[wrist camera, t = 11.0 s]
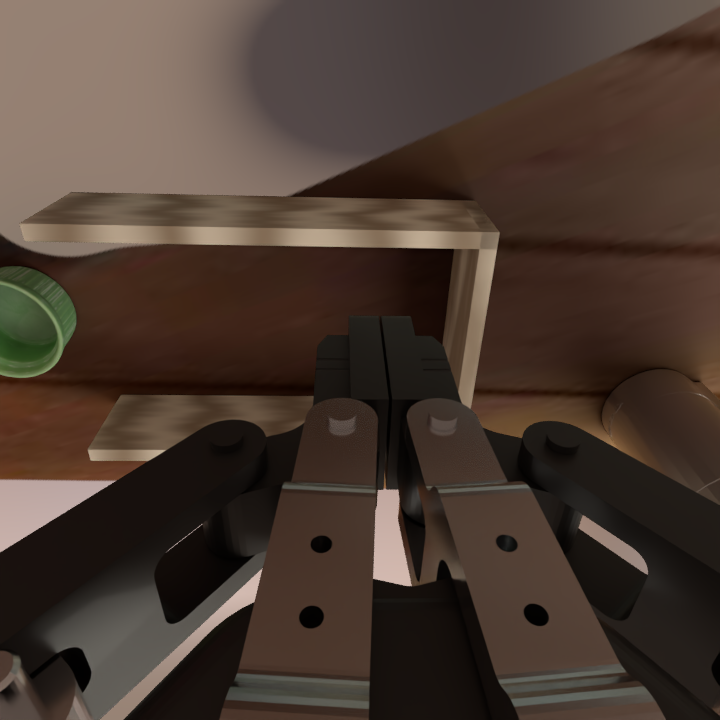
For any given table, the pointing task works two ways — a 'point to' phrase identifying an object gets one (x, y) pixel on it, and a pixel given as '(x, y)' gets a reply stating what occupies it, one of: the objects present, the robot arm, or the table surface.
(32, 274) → the ramekin
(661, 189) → the table surface
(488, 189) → the table surface
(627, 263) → the table surface
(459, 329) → the wooden c-shaped frame
